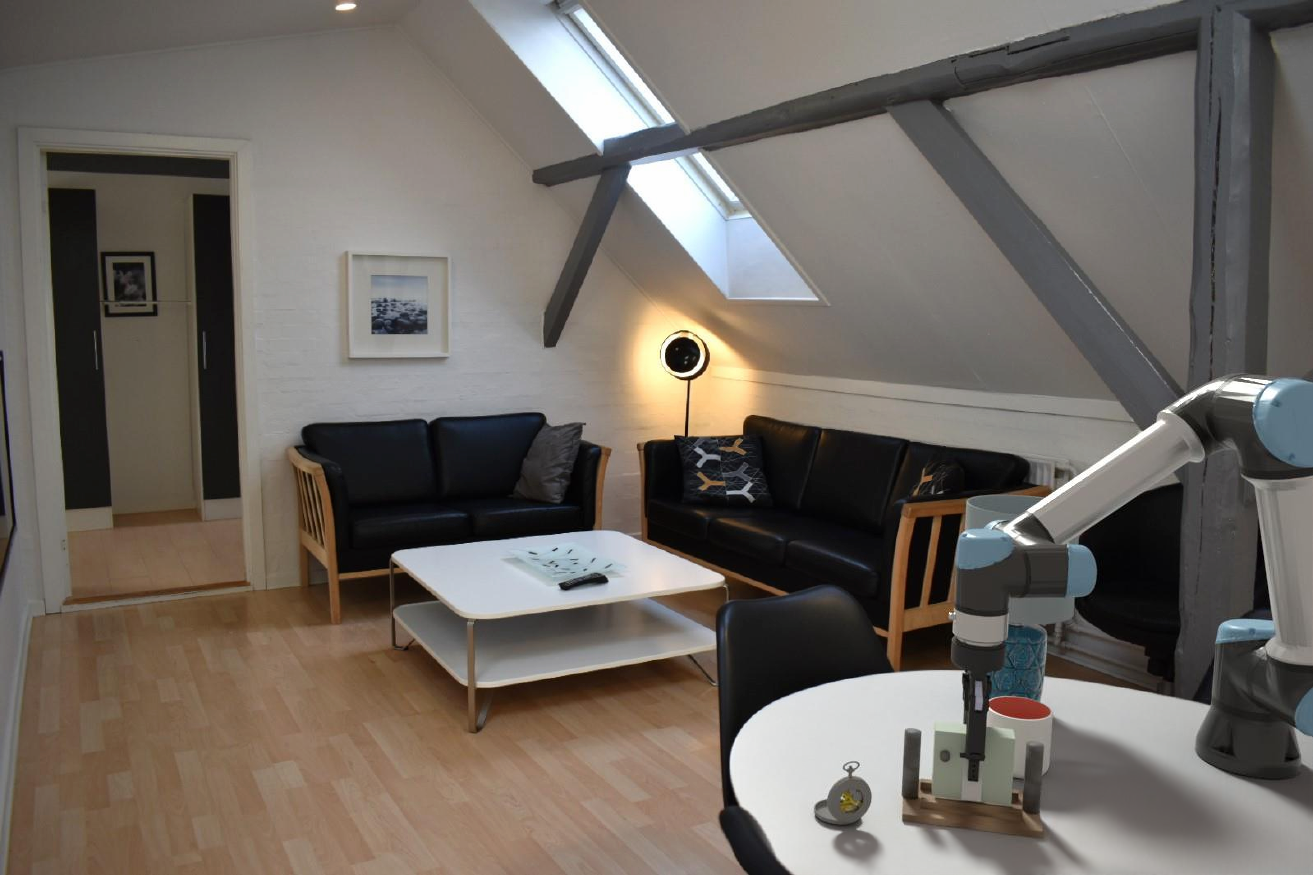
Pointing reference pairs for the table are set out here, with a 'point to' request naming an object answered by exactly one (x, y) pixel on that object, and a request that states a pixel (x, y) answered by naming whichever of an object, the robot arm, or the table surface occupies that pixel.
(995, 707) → the cup
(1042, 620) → the lamp
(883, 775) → the table surface
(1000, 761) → the door
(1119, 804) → the table surface
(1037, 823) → the hinge board
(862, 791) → the pocket watch
